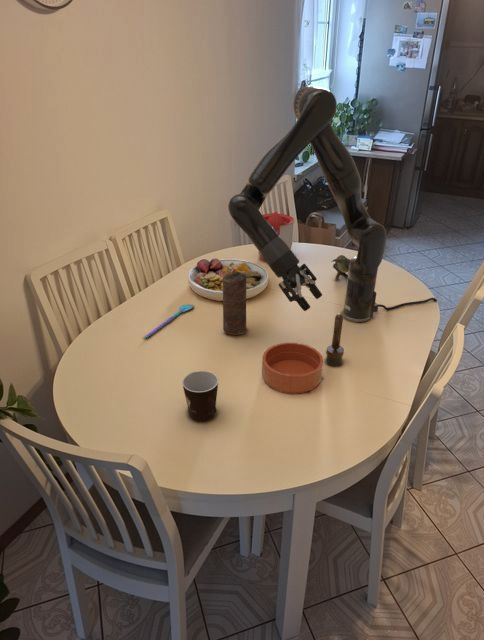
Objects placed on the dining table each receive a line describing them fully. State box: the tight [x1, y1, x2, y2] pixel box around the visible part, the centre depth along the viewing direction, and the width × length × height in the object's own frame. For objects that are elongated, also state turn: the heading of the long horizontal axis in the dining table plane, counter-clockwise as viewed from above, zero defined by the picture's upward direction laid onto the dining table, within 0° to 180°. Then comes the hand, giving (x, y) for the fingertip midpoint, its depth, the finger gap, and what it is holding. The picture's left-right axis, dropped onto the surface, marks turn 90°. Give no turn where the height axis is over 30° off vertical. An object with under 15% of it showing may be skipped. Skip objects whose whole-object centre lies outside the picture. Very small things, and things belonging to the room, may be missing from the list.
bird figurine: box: [331, 254, 351, 281], centre depth 190 cm, size 13×10×20 cm
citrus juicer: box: [258, 211, 295, 262], centre depth 203 cm, size 16×17×20 cm
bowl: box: [187, 257, 270, 302], centre depth 183 cm, size 30×30×8 cm
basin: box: [261, 342, 324, 395], centre depth 136 cm, size 17×17×6 cm
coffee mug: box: [181, 370, 219, 423], centre depth 119 cm, size 12×9×10 cm
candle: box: [222, 272, 247, 336], centre depth 152 cm, size 8×7×20 cm
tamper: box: [325, 313, 345, 367], centre depth 139 cm, size 5×5×16 cm
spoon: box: [145, 304, 194, 339], centre depth 161 cm, size 25×4×1 cm, turn 158°
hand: (313, 303), depth 138 cm, fingers open, 8 cm apart
